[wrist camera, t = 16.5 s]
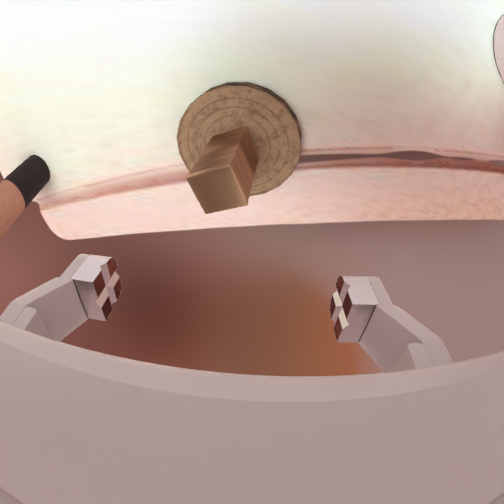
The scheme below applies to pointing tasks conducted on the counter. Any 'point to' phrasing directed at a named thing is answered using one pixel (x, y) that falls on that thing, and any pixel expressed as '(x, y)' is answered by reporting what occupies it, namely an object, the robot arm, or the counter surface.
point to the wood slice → (241, 115)
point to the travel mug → (21, 189)
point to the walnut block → (225, 171)
